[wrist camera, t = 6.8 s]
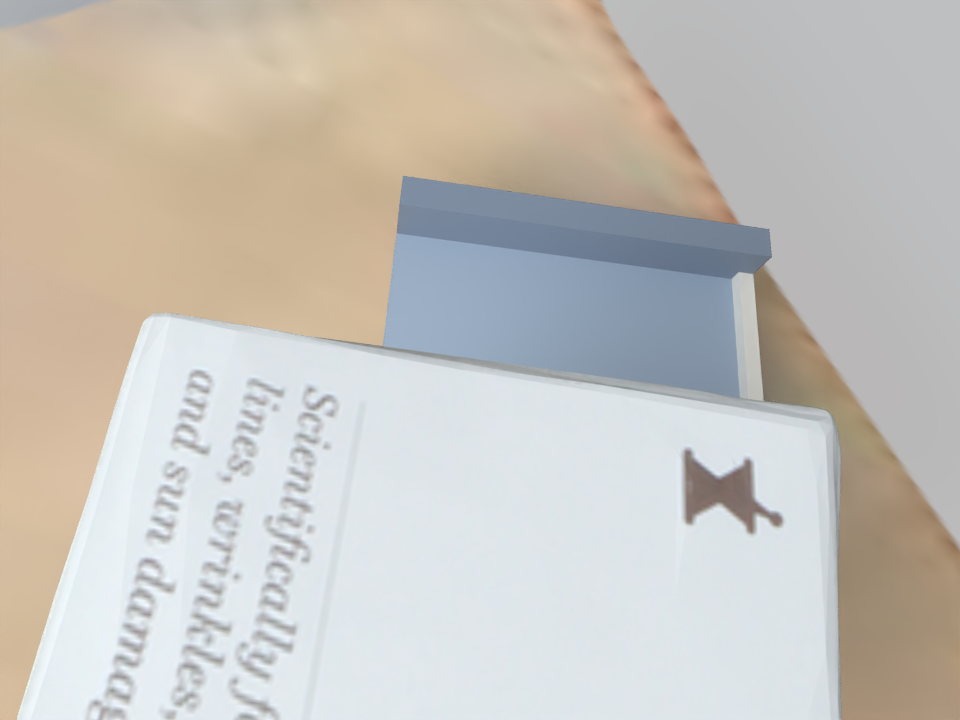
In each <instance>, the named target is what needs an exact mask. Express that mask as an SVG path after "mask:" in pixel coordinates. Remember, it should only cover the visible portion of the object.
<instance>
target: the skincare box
mask: <svg viewBox="0 0 960 720" xmlns="http://www.w3.org/2000/svg"><path fill="white" fill-rule="evenodd" d="M840 472H841V450H840V443H839V436H838V430H837V427H836V424H835V421H834V418H833V415H831V414H830V413H829V412H828V411H827V410H824V409H820V408H816V407H810V406H802V405H793V404H785V403H777V402H769V401H760V400H752V399H744V398H736V397H730V396H725V395H719V394H713V393H708V392H702V391H697V390H690V389H684V388H678V387H672V386H666V385H660V384H653V383H646V382H639V381H631V380H624V379H616V378H609V377H602V376H594V375H587V374H580V373H573V372H565V371H558V370H551V369H543V368H536V367H529V366H522V365H514V364H507V363H500V362H493V361H486V360H479V359H471V358H464V357H457V356H450V355H443V354H436V353H429V352H421V351H414V350H407V349H399V348H392V347H385V346H377V345H370V344H363V343H355V342H348V341H341V340H333V339H325V338H317V337H310V336H304V335H298V334H293V333H287V332H281V331H275V330H270V329H264V328H258V327H252V326H246V325H240V324H234V323H228V322H222V321H215V320H209V319H203V318H197V317H191V316H185V315H179V314H173V313H156V314H152V315H151V316H150V317H148V318H147V319H146V320H145V321H144V323H143V324H142V327H141V330H140V333H139V336H138V338H137V341H136V344H135V347H134V350H133V353H132V356H131V359H130V362H129V364H128V368H127V371H126V374H125V377H124V380H123V383H122V386H121V389H120V393H119V396H118V399H117V402H116V405H115V408H114V412H113V415H112V418H111V422H110V425H109V428H108V432H107V435H106V438H105V442H104V445H103V448H102V452H101V455H100V458H99V462H98V465H97V468H96V472H95V475H94V478H93V482H92V485H91V488H90V492H89V495H88V498H87V501H86V504H85V507H84V510H83V513H82V516H81V519H80V522H79V525H78V528H77V531H76V534H75V537H74V540H73V543H72V546H71V549H70V552H69V555H68V558H67V561H66V564H65V567H64V570H63V573H62V576H61V579H60V582H59V585H58V588H57V591H56V594H55V597H54V600H53V604H52V607H51V610H50V613H49V617H48V620H47V623H46V626H45V629H44V633H43V636H42V639H41V642H40V646H39V649H38V652H37V655H36V658H35V662H34V665H33V668H32V671H31V675H30V678H29V681H28V684H27V688H26V691H25V694H24V697H23V700H22V704H21V707H20V710H19V713H18V717H17V720H842V710H841V681H840V651H839V621H838V543H839V514H840Z"/></svg>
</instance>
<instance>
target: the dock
mask: <svg viewBox="0 0 960 720" xmlns="http://www.w3.org/2000/svg"><path fill="white" fill-rule="evenodd" d="M771 255H772V254H771V243H770V234H769V229H763V228H757V227H749V226H743V225H736V224H729V223H723V222H716V221H709V220H702V219H695V218H688V217H682V216H675V215H668V214H661V213H654V212H647V211H640V210H634V209H627V208H620V207H613V206H606V205H599V204H593V203H586V202H579V201H572V200H565V199H558V198H551V197H545V196H538V195H531V194H524V193H517V192H510V191H504V190H497V189H490V188H483V187H476V186H469V185H463V184H456V183H449V182H442V181H435V180H428V179H421V178H415V177H408V176H403V180H402V189H401V197H400V205H399V215H398V225H397V235H396V243H395V251H394V260H393V268H392V276H391V284H390V293H389V301H388V309H387V317H386V326H385V334H384V342H383V346H385V347H392V348H399V349H407V350H414V351H421V352H429V353H436V354H443V355H450V356H457V357H464V358H471V359H479V360H486V361H493V362H500V363H507V364H514V365H522V366H529V367H536V368H543V369H551V370H558V371H565V372H573V373H580V374H587V375H594V376H602V377H609V378H616V379H624V380H631V381H639V382H646V383H653V384H660V385H666V386H672V387H678V388H684V389H690V390H697V391H702V392H708V393H713V394H719V395H725V396H730V397H736V398H744V399H752V400H760V401H764V399H763V387H762V375H761V362H760V350H759V338H758V326H757V314H756V301H755V289H754V277H753V274H754V273H755V272H756V271H757V270H758V269H759V268H760V267H761V266H762V265H764V264H765V263H766V262H767V261H768V260H769V259H770V258H771V257H772V256H771Z"/></svg>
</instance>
